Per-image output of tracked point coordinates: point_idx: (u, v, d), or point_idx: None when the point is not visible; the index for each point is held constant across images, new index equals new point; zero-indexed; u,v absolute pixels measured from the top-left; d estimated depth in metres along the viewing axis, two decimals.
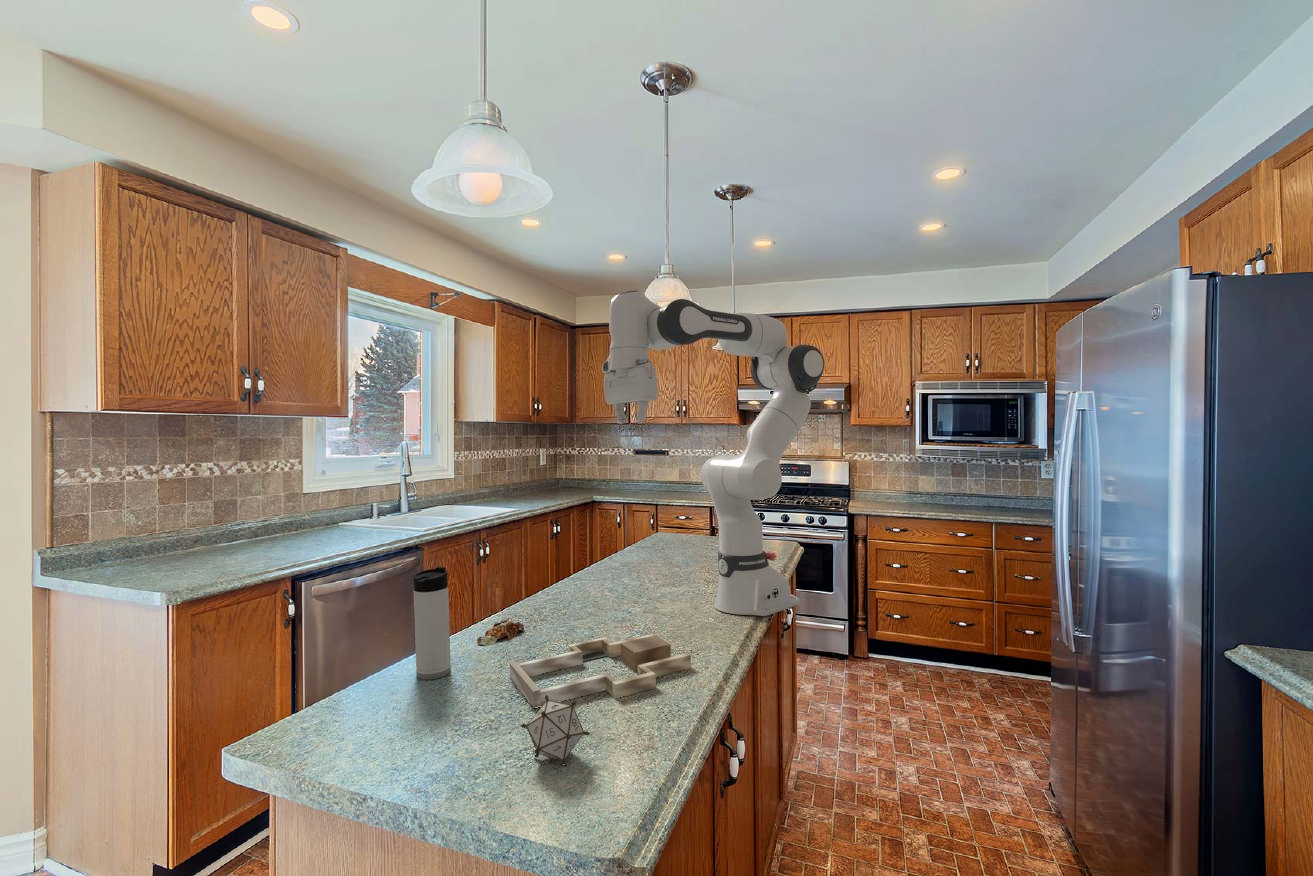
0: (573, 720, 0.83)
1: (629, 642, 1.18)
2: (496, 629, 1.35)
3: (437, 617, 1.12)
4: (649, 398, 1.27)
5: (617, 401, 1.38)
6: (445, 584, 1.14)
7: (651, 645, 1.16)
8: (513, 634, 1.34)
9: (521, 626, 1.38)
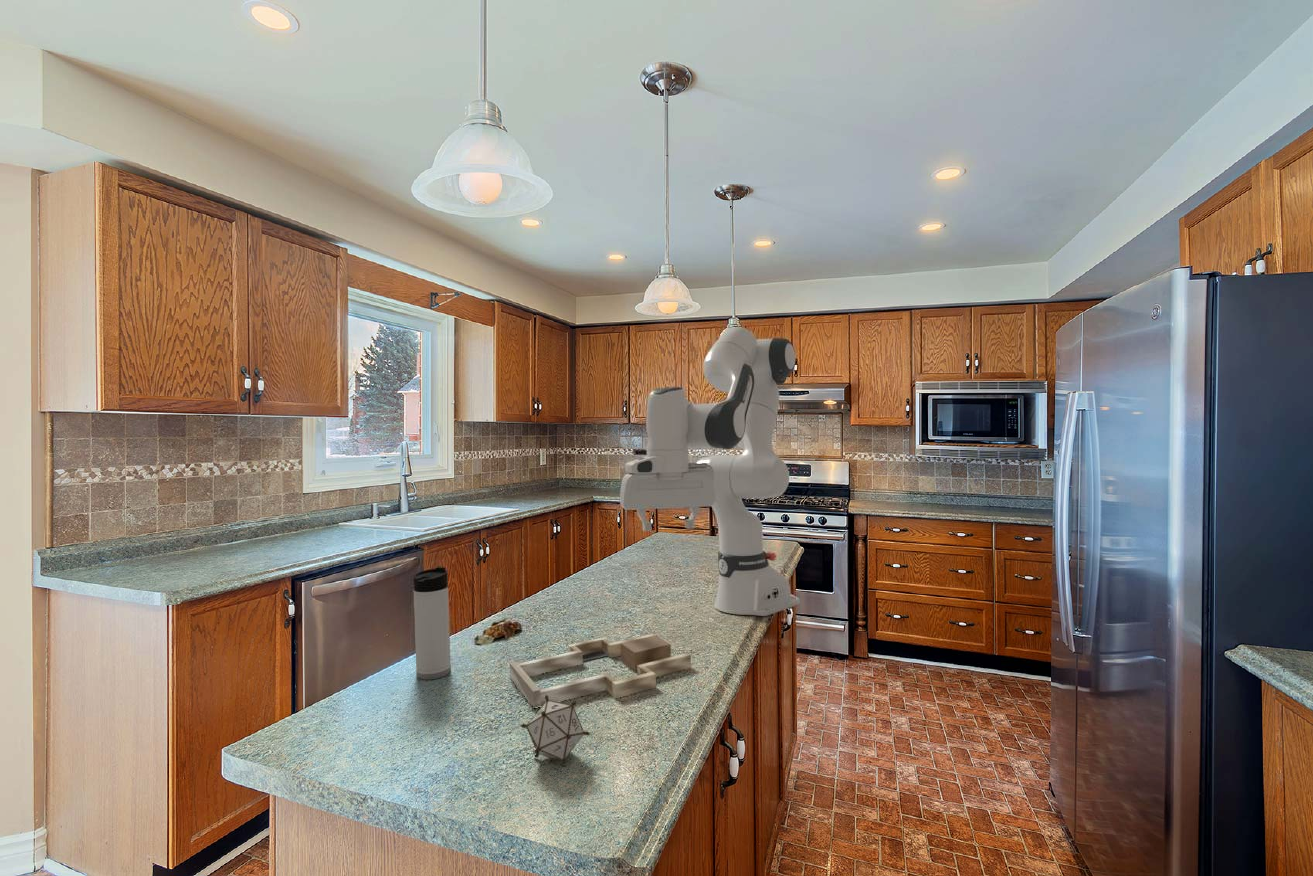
0: (573, 720, 0.83)
1: (629, 642, 1.18)
2: (494, 628, 1.35)
3: (437, 617, 1.12)
4: None
5: (655, 507, 1.22)
6: (445, 584, 1.14)
7: (651, 645, 1.16)
8: (510, 633, 1.35)
9: (519, 626, 1.38)
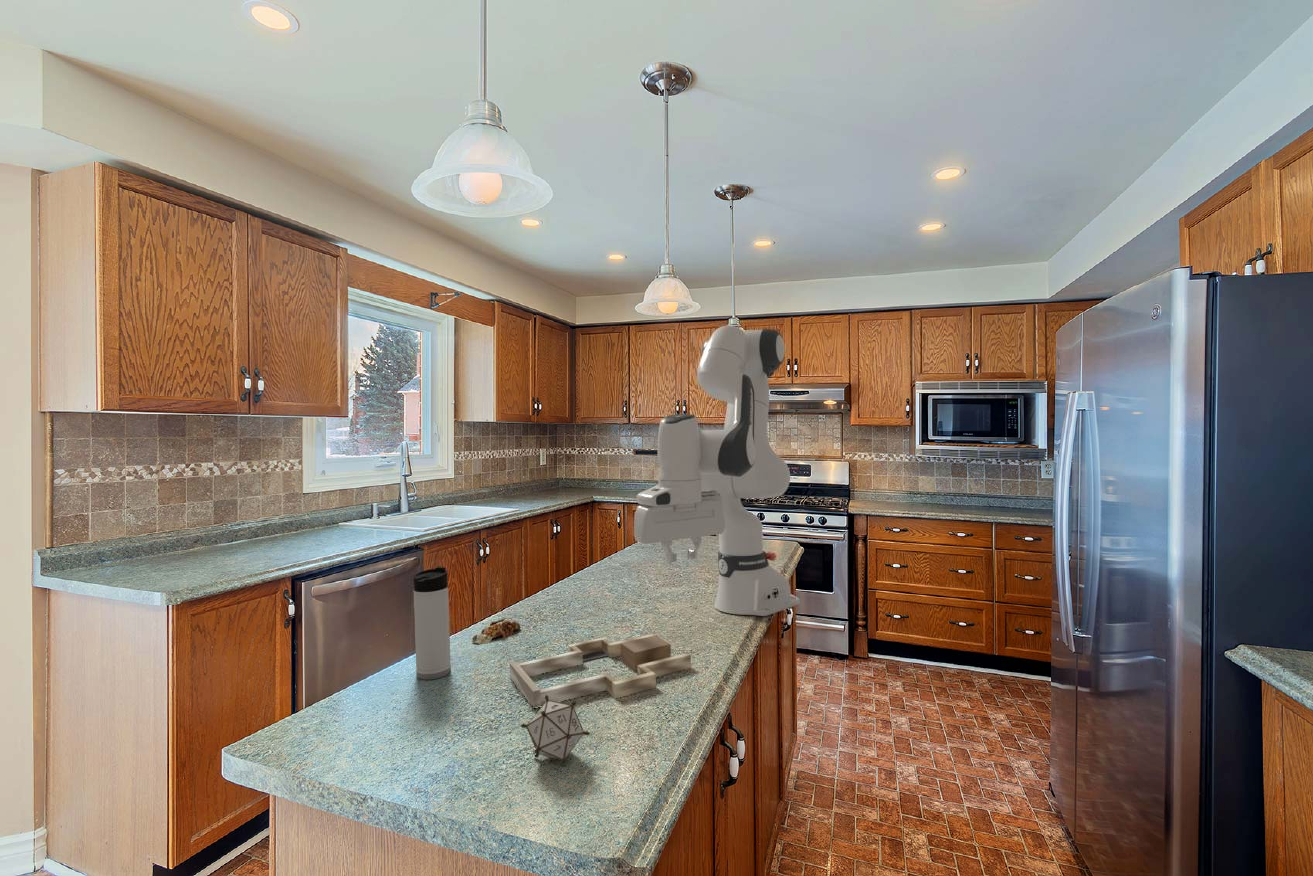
0: (573, 720, 0.83)
1: (629, 642, 1.18)
2: (492, 628, 1.36)
3: (437, 617, 1.12)
4: None
5: (672, 539, 1.18)
6: (445, 584, 1.14)
7: (651, 645, 1.16)
8: (509, 633, 1.35)
9: (517, 625, 1.38)
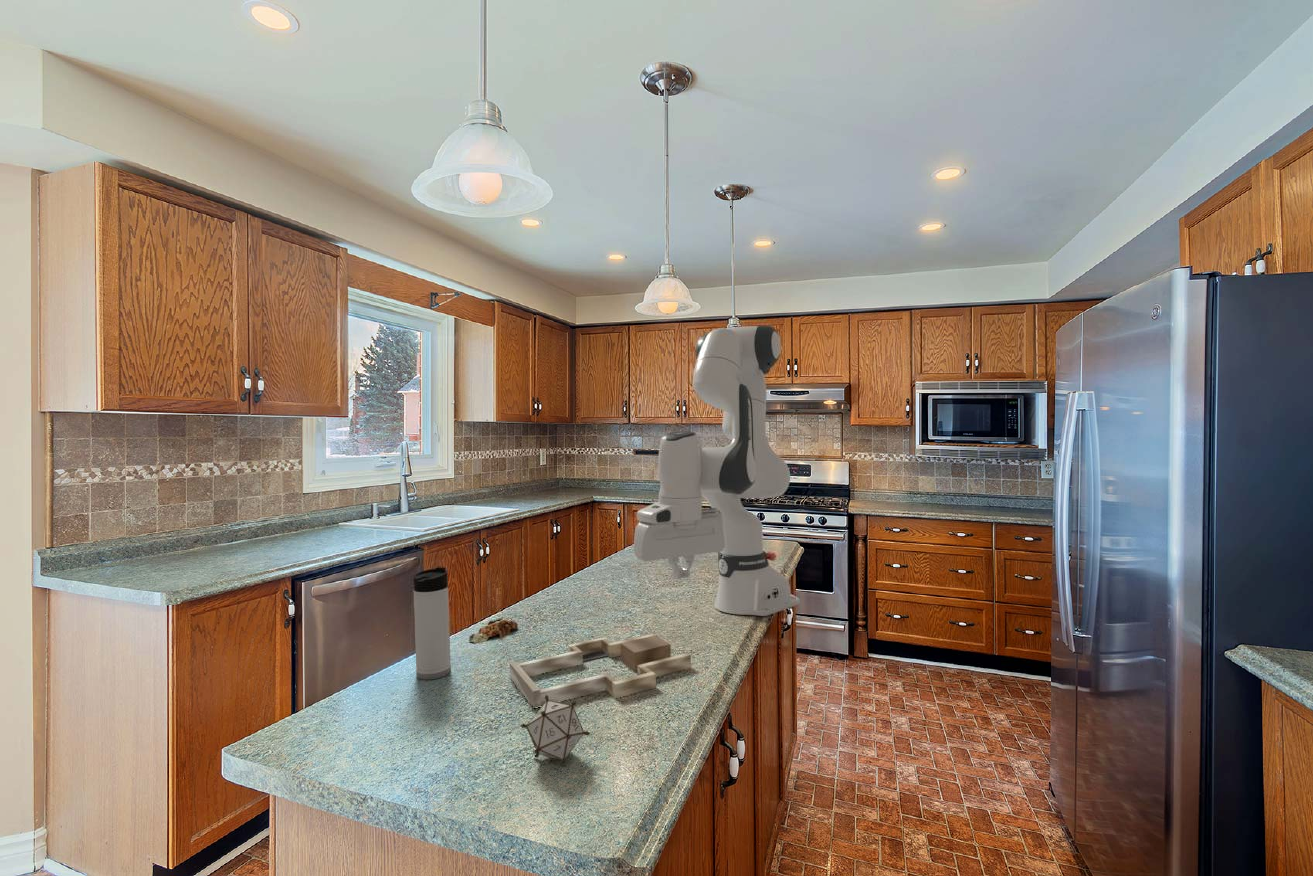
0: (573, 720, 0.83)
1: (629, 642, 1.18)
2: (489, 627, 1.36)
3: (437, 617, 1.12)
4: None
5: (671, 556, 1.18)
6: (445, 584, 1.14)
7: (651, 645, 1.16)
8: (505, 632, 1.36)
9: (515, 625, 1.39)
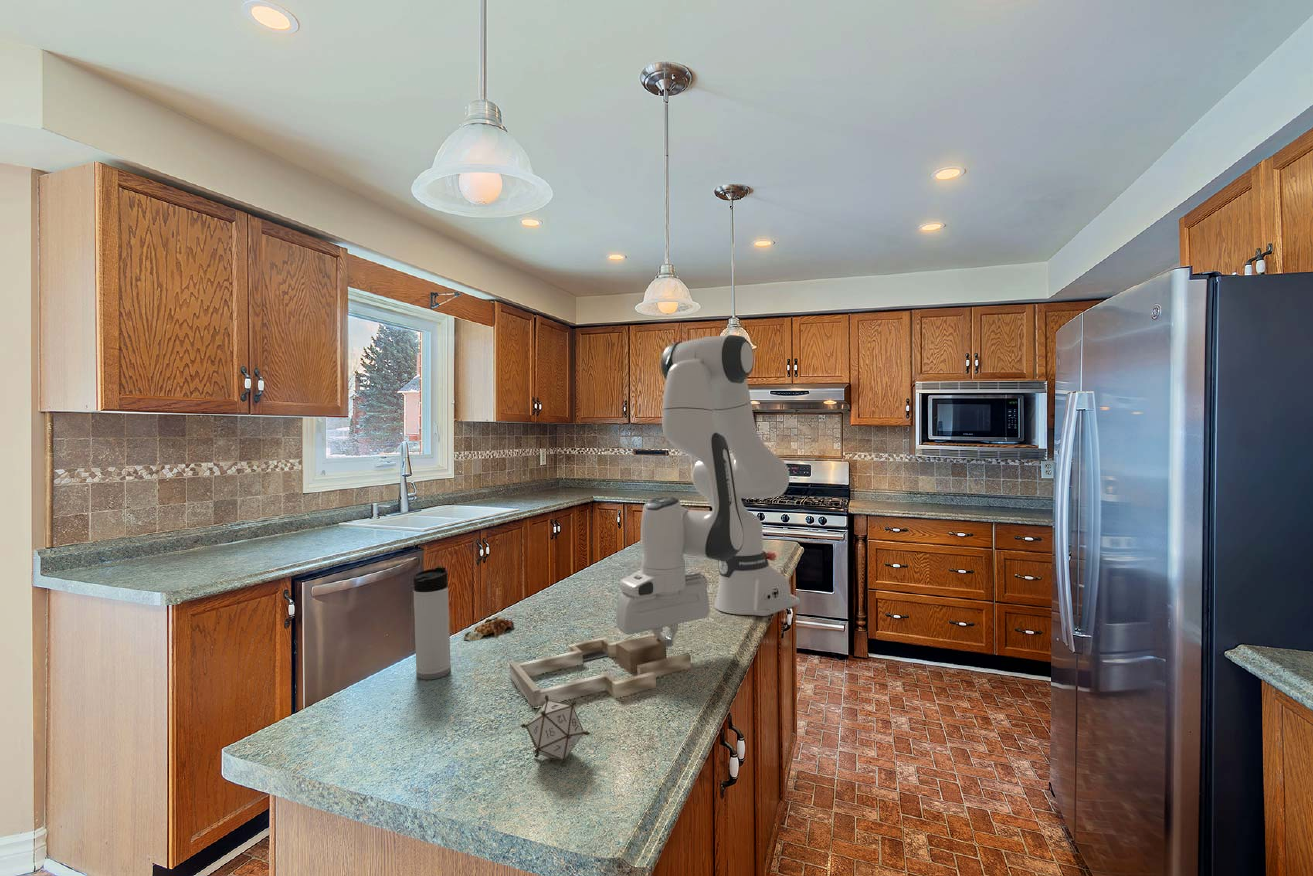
0: (573, 720, 0.83)
1: (625, 642, 1.18)
2: (485, 625, 1.38)
3: (437, 617, 1.12)
4: None
5: (655, 627, 1.16)
6: (445, 584, 1.14)
7: (647, 645, 1.16)
8: (500, 631, 1.37)
9: (511, 624, 1.40)
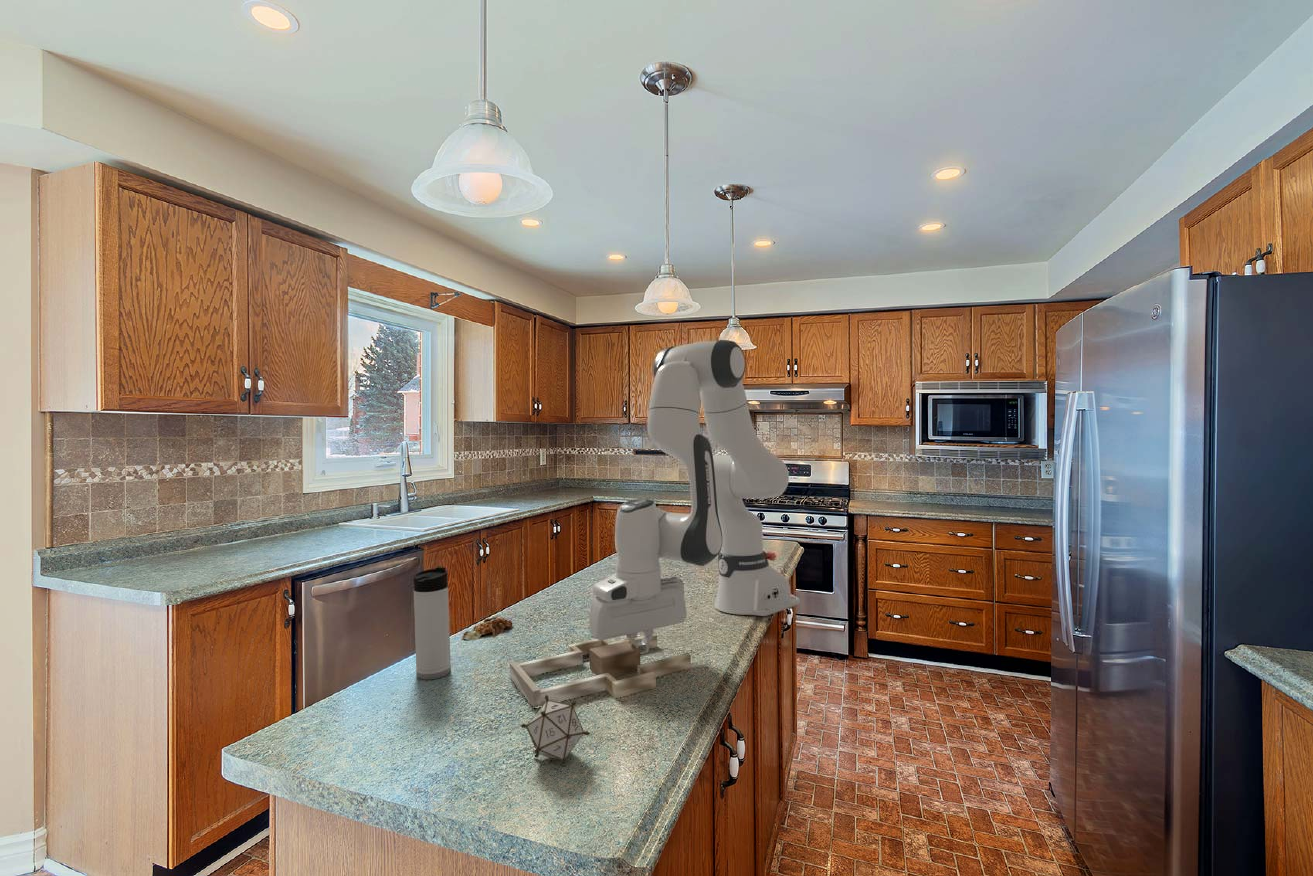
0: (573, 720, 0.83)
1: (598, 648, 1.15)
2: (484, 625, 1.38)
3: (437, 617, 1.12)
4: None
5: (629, 633, 1.14)
6: (445, 584, 1.14)
7: (620, 651, 1.13)
8: (499, 631, 1.37)
9: (509, 623, 1.40)
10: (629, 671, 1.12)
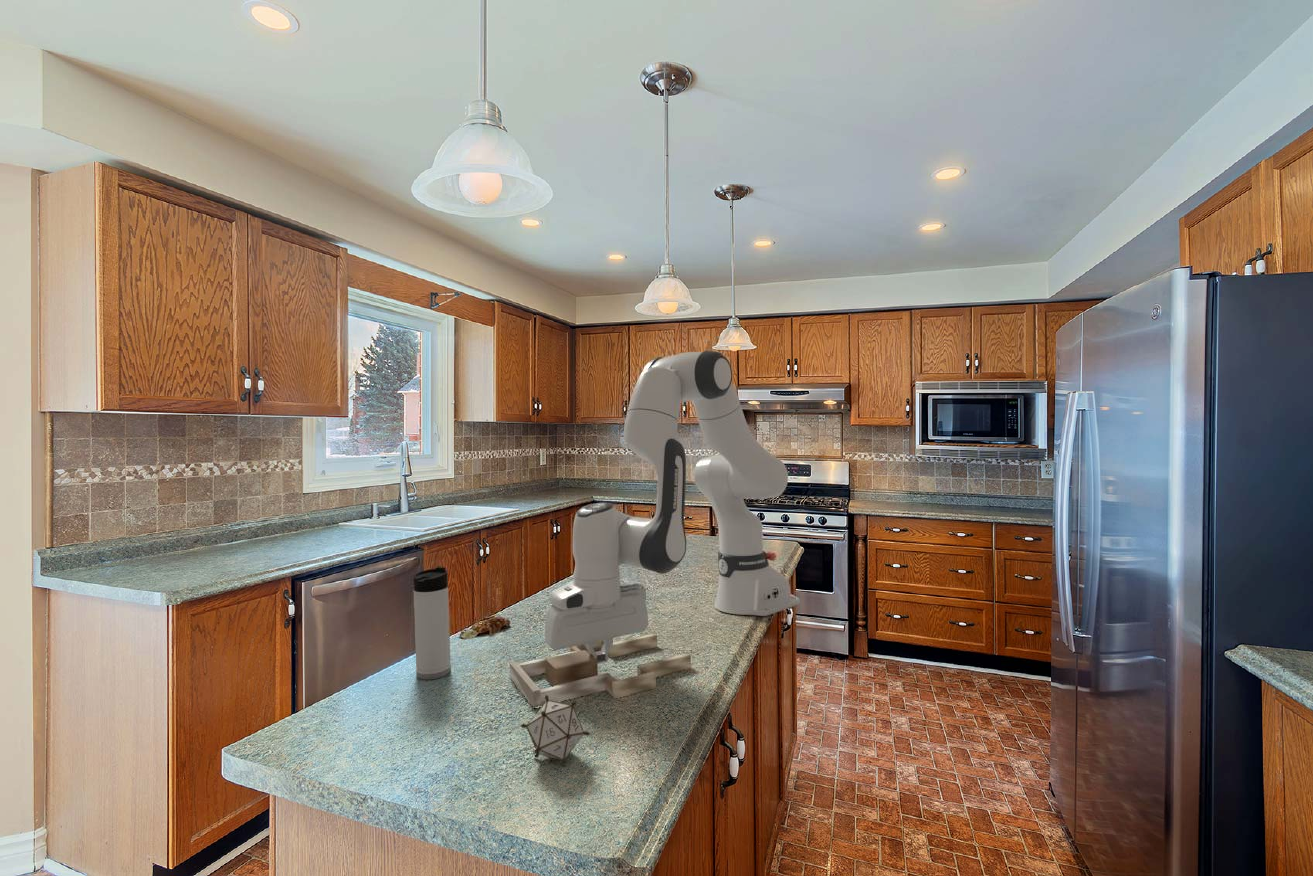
0: (573, 720, 0.83)
1: (554, 658, 1.11)
2: None
3: (437, 617, 1.12)
4: None
5: (586, 642, 1.09)
6: (445, 584, 1.14)
7: (577, 661, 1.09)
8: (496, 630, 1.38)
9: (507, 622, 1.41)
10: None
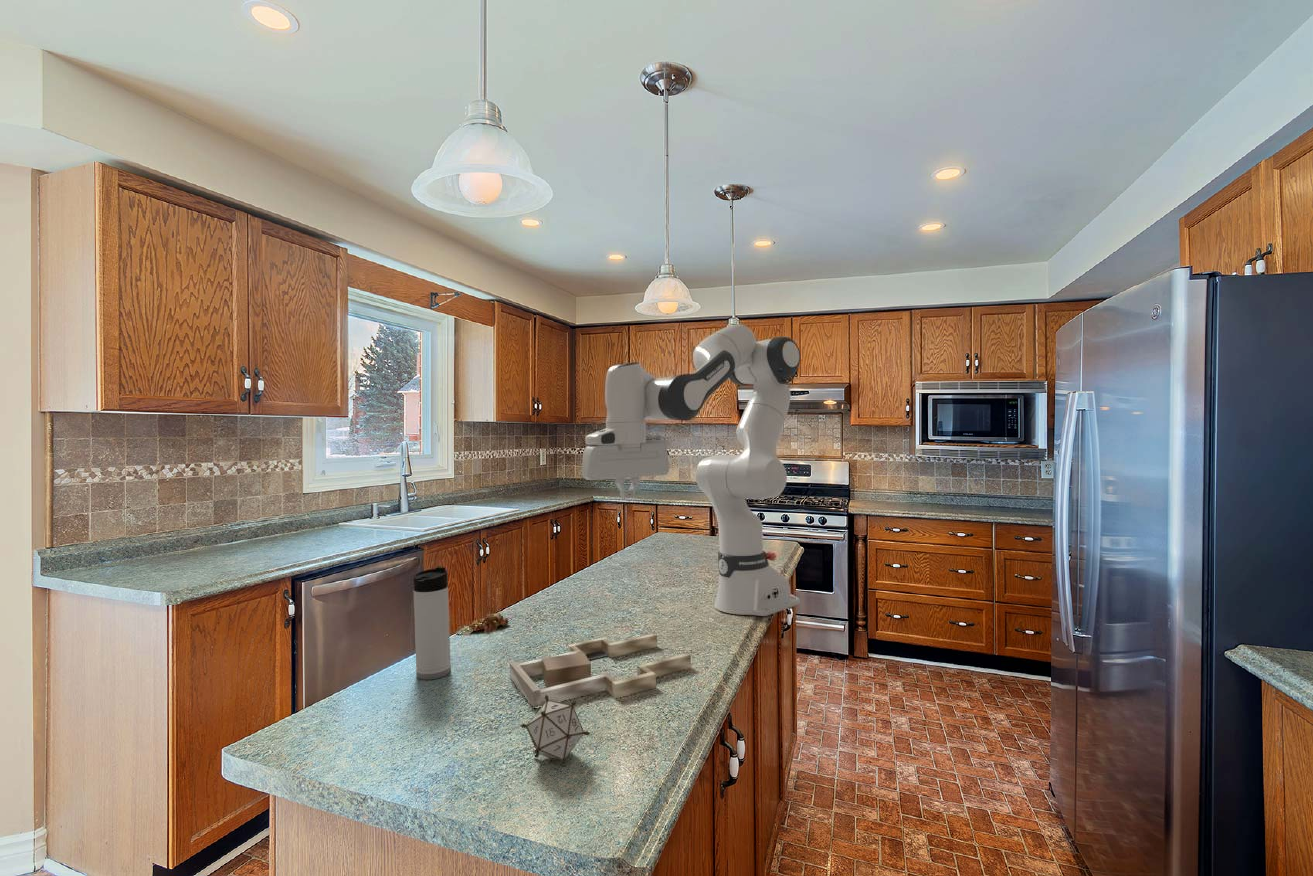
0: (573, 720, 0.83)
1: (551, 658, 1.11)
2: (480, 621, 1.41)
3: (437, 617, 1.12)
4: None
5: (617, 476, 1.28)
6: (445, 584, 1.14)
7: (570, 663, 1.08)
8: (491, 628, 1.39)
9: (504, 622, 1.41)
10: None
